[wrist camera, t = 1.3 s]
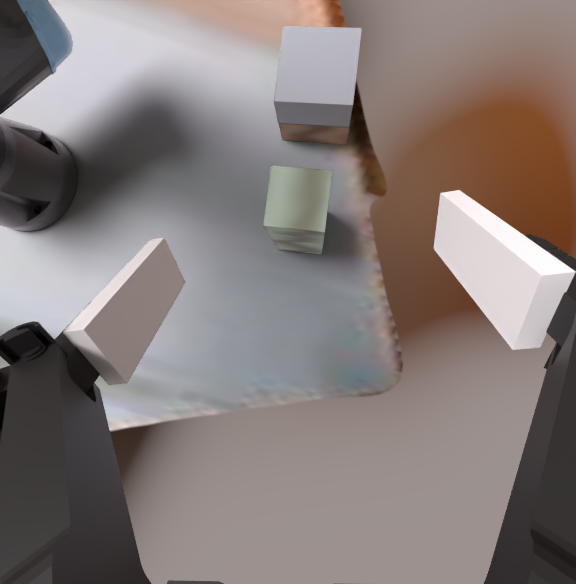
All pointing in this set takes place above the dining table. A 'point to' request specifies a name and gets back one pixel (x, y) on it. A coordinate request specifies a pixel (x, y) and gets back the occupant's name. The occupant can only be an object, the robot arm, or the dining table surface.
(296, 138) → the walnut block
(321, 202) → the sage block
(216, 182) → the dining table surface
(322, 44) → the slate block
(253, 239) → the dining table surface
